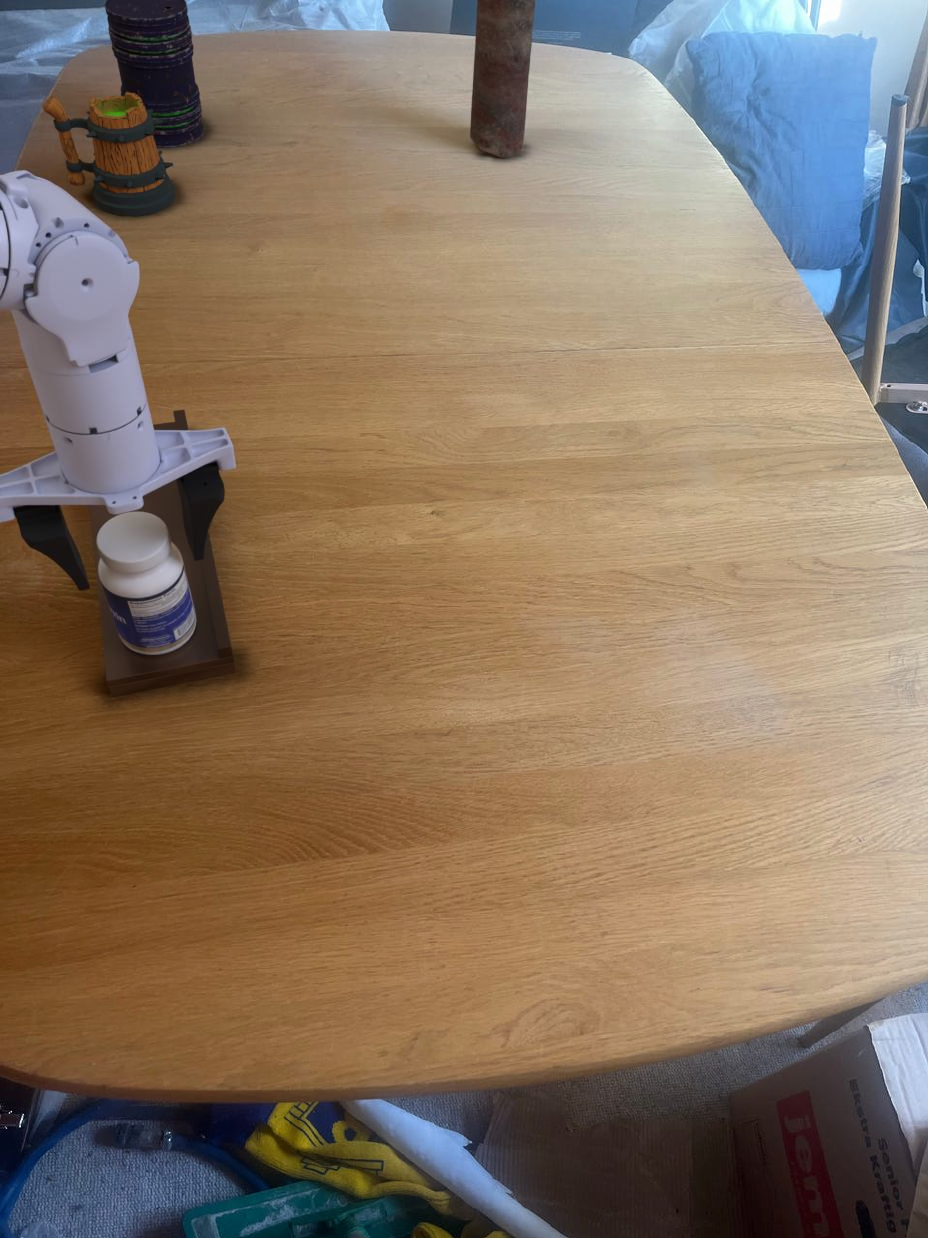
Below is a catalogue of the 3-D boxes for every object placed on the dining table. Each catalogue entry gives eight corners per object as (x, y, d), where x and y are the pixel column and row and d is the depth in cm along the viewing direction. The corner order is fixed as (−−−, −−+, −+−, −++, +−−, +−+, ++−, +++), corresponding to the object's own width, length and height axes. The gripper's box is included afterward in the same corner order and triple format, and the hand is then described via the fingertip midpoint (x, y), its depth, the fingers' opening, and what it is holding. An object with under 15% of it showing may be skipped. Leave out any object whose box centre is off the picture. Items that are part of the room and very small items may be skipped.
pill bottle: (112, 610, 73) (81, 515, 65) (187, 591, 74) (166, 497, 67) (127, 667, 70) (96, 575, 62) (205, 646, 71) (185, 553, 64)
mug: (176, 174, 120) (160, 75, 112) (180, 215, 114) (163, 114, 105) (67, 178, 118) (41, 78, 109) (64, 220, 112) (37, 117, 103)
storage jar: (114, 139, 125) (88, 11, 114) (147, 109, 131) (125, -16, 120) (187, 152, 124) (168, 24, 113) (216, 121, 130) (200, -4, 119)
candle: (459, 150, 130) (469, -20, 115) (479, 129, 134) (492, -37, 119) (511, 163, 128) (529, -7, 113) (530, 142, 133) (550, -24, 118)
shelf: (112, 697, 70) (102, 671, 68) (88, 450, 87) (79, 422, 84) (236, 672, 72) (231, 646, 70) (189, 436, 89) (184, 409, 87)
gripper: (-32, 476, 51) (38, 637, 61) (238, 418, 55) (260, 577, 65) (-47, 397, 54) (21, 561, 65) (206, 349, 59) (232, 509, 69)
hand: (140, 564), depth 65 cm, fingers open, 7 cm apart
